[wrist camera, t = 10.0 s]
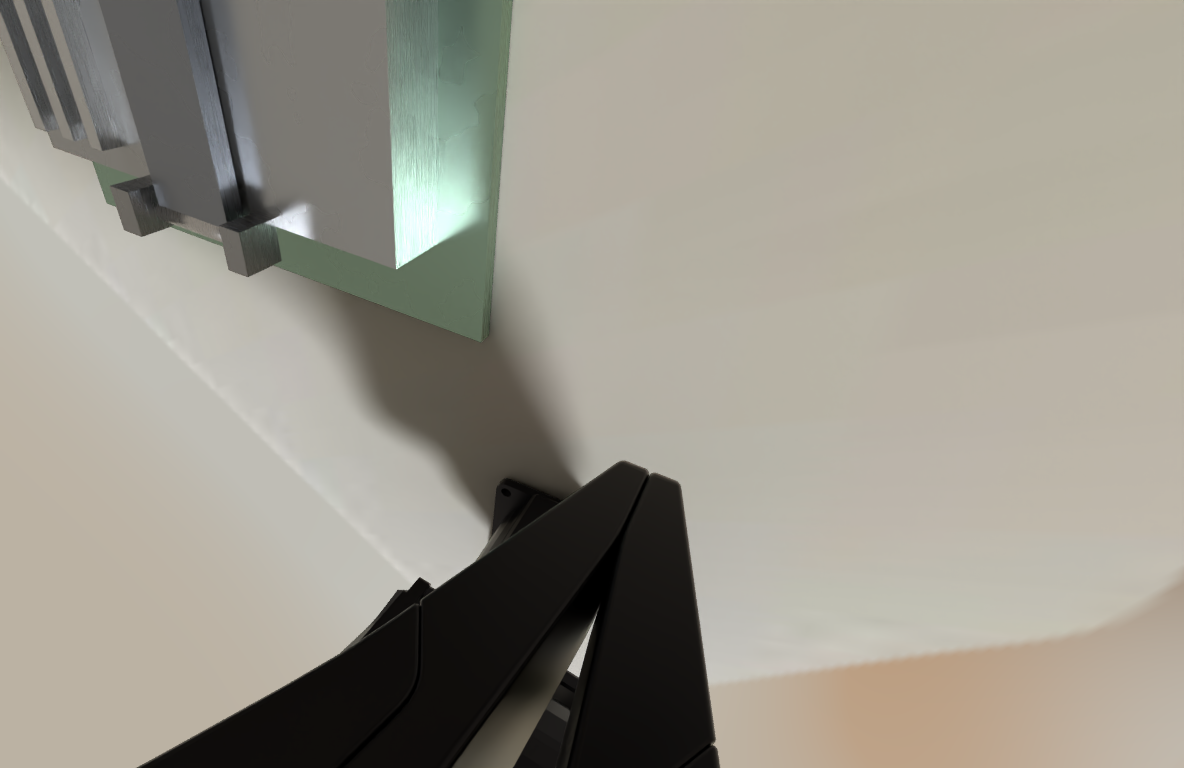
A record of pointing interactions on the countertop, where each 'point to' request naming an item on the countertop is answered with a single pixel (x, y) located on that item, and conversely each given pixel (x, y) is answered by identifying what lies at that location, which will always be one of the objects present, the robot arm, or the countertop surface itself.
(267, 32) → the heatsink
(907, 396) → the countertop surface
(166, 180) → the grey and orange bar
